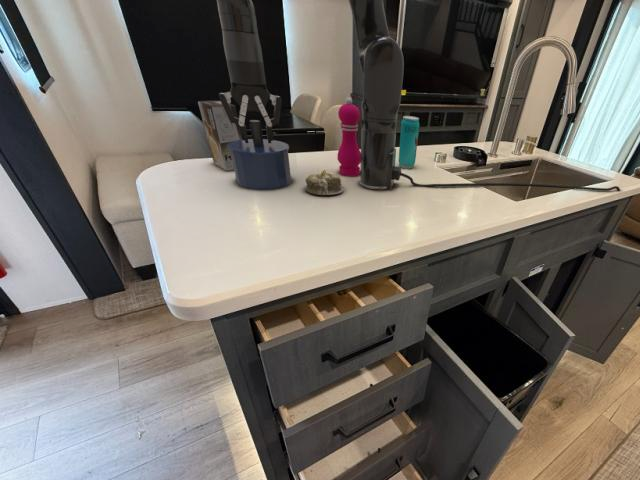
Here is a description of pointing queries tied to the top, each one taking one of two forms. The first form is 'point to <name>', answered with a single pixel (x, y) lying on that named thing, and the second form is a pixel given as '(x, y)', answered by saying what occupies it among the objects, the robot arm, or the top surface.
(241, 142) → the lid
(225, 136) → the coffee box
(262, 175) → the tin
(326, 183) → the cake
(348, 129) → the pepper mill
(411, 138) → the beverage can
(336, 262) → the top surface
